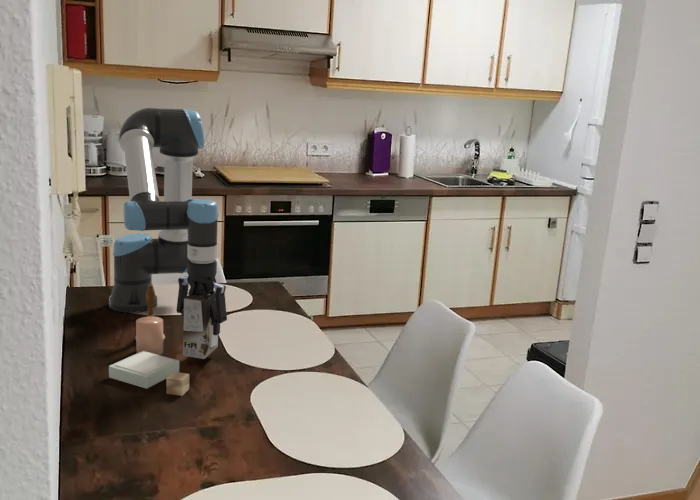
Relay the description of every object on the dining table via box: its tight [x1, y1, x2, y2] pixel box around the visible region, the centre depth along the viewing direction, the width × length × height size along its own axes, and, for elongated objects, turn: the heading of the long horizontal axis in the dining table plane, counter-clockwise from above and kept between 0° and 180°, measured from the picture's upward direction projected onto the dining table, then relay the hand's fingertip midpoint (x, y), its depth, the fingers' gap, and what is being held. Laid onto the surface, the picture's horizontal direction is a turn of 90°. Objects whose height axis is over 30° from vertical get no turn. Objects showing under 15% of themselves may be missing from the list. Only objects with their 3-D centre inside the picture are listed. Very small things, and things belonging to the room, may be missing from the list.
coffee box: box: [182, 292, 219, 360], centre depth 177 cm, size 9×6×16 cm
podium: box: [108, 351, 180, 389], centre depth 168 cm, size 12×12×3 cm
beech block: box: [165, 371, 190, 397], centre depth 160 cm, size 4×4×4 cm
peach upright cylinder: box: [135, 316, 164, 356], centre depth 182 cm, size 7×7×9 cm
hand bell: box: [134, 284, 166, 341], centre depth 191 cm, size 8×8×16 cm
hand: (201, 342), depth 179 cm, fingers closed on coffee box, 7 cm apart
